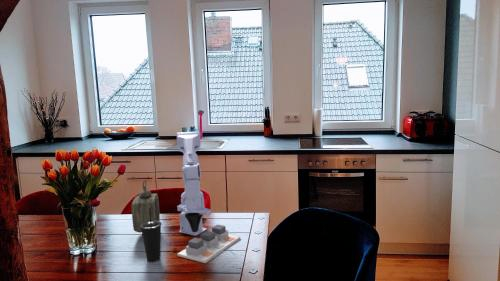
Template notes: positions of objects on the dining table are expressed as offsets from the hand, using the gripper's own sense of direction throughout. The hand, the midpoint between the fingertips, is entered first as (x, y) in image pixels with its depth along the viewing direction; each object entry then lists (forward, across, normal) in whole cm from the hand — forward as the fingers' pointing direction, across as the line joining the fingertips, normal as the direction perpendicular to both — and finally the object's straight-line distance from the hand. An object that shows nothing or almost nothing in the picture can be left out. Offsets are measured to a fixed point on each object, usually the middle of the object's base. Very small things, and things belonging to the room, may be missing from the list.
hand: (195, 231), depth 147 cm
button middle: (+7, 0, +7) cm, 10 cm away
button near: (+7, 0, 0) cm, 7 cm away
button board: (+9, +1, +8) cm, 12 cm away
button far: (+7, 0, +15) cm, 16 cm away
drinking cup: (+9, -12, -10) cm, 19 cm away
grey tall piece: (+9, -30, +4) cm, 32 cm away
